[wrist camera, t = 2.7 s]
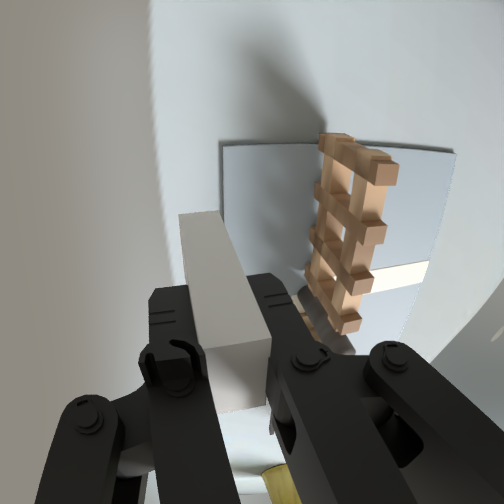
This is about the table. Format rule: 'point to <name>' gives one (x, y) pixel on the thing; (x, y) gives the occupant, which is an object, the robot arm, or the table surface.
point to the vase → (280, 485)
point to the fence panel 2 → (322, 324)
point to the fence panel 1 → (347, 226)
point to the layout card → (305, 215)
